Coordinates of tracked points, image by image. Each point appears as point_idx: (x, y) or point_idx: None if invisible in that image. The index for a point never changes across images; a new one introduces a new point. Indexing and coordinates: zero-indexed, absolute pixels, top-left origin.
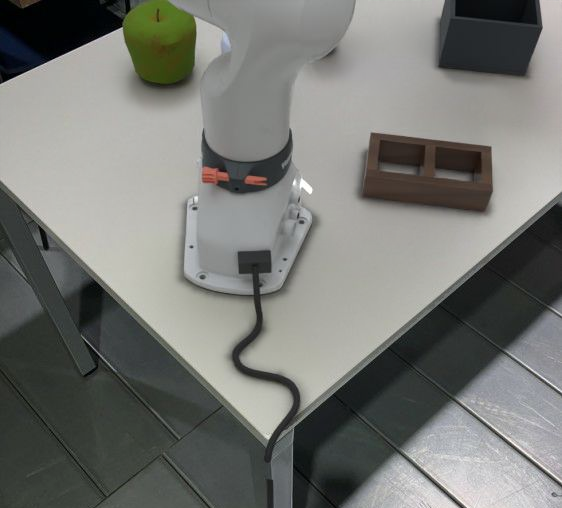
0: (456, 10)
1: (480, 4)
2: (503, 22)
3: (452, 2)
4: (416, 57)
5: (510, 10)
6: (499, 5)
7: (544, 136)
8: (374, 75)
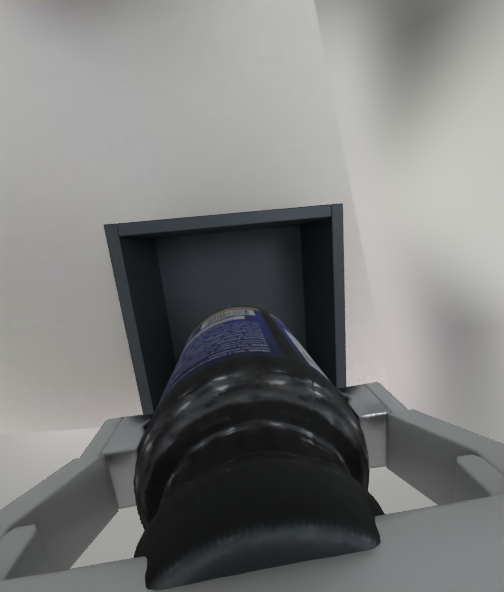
0: (305, 242)
1: (313, 289)
2: (136, 355)
3: (186, 221)
4: (164, 184)
5: (314, 346)
6: (315, 326)
7: (21, 418)
8: (67, 101)
